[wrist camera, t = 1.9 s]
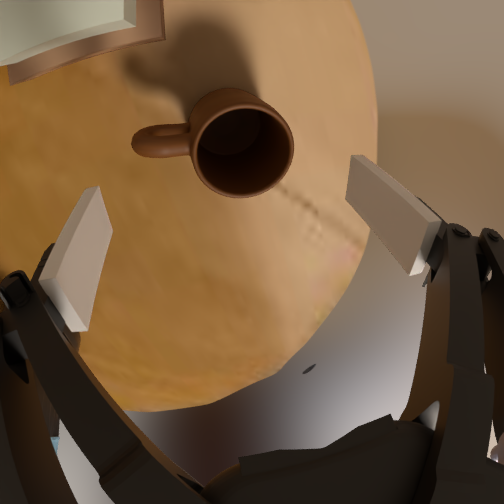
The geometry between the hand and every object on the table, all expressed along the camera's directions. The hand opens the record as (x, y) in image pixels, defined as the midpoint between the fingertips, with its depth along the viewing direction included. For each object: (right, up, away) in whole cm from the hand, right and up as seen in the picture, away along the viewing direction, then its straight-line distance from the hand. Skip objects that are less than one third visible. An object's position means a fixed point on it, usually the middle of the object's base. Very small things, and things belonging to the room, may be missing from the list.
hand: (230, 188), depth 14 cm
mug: (-4, +10, +12) cm, 16 cm away
